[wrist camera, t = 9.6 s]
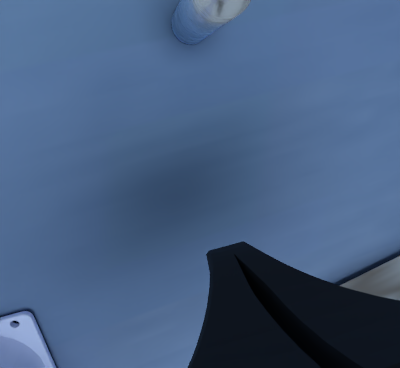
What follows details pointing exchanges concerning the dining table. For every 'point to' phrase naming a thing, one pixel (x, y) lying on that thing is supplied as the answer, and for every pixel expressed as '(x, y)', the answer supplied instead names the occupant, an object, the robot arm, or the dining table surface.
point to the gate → (379, 280)
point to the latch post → (203, 17)
